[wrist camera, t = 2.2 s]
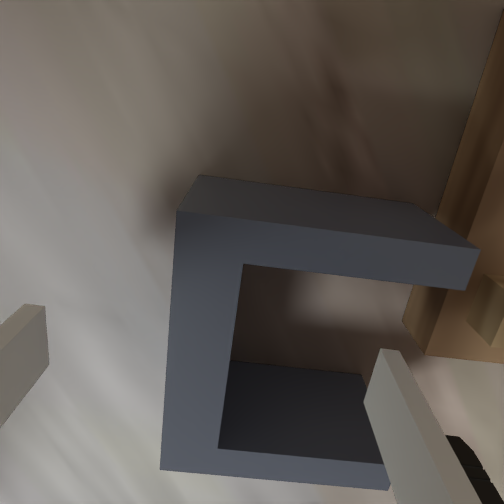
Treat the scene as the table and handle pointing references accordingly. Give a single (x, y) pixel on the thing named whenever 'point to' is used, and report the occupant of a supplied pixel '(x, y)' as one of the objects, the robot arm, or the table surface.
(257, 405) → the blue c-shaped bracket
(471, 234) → the stand
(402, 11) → the table surface
